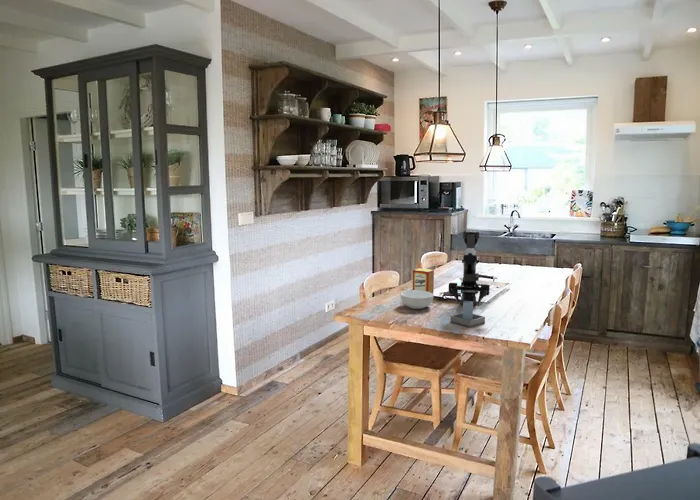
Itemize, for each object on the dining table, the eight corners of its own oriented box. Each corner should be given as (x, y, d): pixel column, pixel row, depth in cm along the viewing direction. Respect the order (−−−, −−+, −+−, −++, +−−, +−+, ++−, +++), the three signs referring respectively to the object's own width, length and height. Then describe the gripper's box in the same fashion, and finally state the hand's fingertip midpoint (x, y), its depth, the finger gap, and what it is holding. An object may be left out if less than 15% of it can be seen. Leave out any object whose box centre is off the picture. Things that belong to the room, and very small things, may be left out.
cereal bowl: (405, 312, 264) (406, 298, 262) (396, 303, 280) (396, 290, 279) (438, 310, 267) (438, 296, 266) (426, 302, 283) (427, 289, 282)
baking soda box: (412, 297, 293) (412, 269, 290) (418, 295, 298) (418, 267, 295) (427, 300, 287) (428, 271, 285) (433, 297, 292) (433, 269, 290)
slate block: (462, 319, 248) (463, 300, 247) (472, 320, 247) (473, 301, 246) (462, 321, 245) (463, 302, 243) (472, 322, 244) (473, 303, 242)
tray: (450, 322, 247) (450, 315, 246) (465, 317, 254) (465, 311, 254) (470, 327, 238) (470, 321, 238) (484, 322, 246) (485, 316, 245)
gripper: (449, 265, 248) (447, 294, 239) (490, 267, 244) (489, 296, 235) (449, 278, 257) (447, 306, 248) (489, 280, 253) (488, 309, 244)
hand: (468, 304), depth 244 cm, fingers open, 9 cm apart
